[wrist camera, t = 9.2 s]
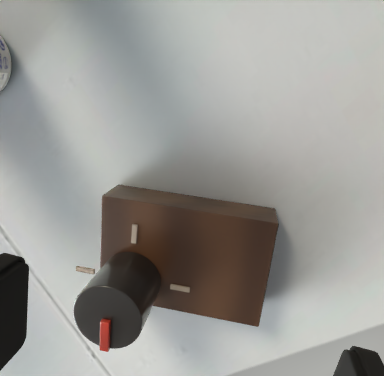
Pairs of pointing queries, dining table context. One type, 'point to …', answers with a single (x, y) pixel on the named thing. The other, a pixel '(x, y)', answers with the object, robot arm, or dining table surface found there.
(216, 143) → the dining table surface
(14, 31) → the dining table surface
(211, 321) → the dining table surface
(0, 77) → the energy drink
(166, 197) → the console
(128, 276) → the dial
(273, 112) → the dining table surface
